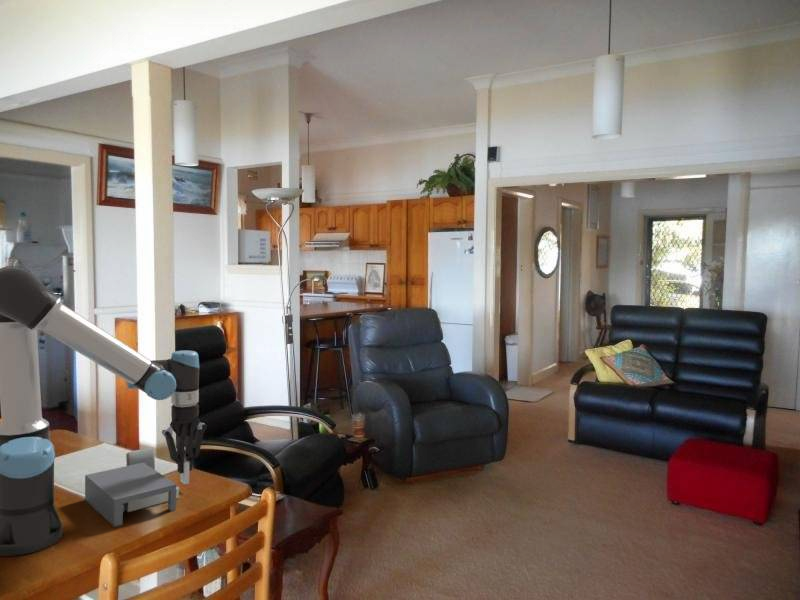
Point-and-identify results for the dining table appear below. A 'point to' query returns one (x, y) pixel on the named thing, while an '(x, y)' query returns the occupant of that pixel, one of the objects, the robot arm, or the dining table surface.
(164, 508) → the dining table surface
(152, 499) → the ribbed white block
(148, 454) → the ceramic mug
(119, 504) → the low shelf
